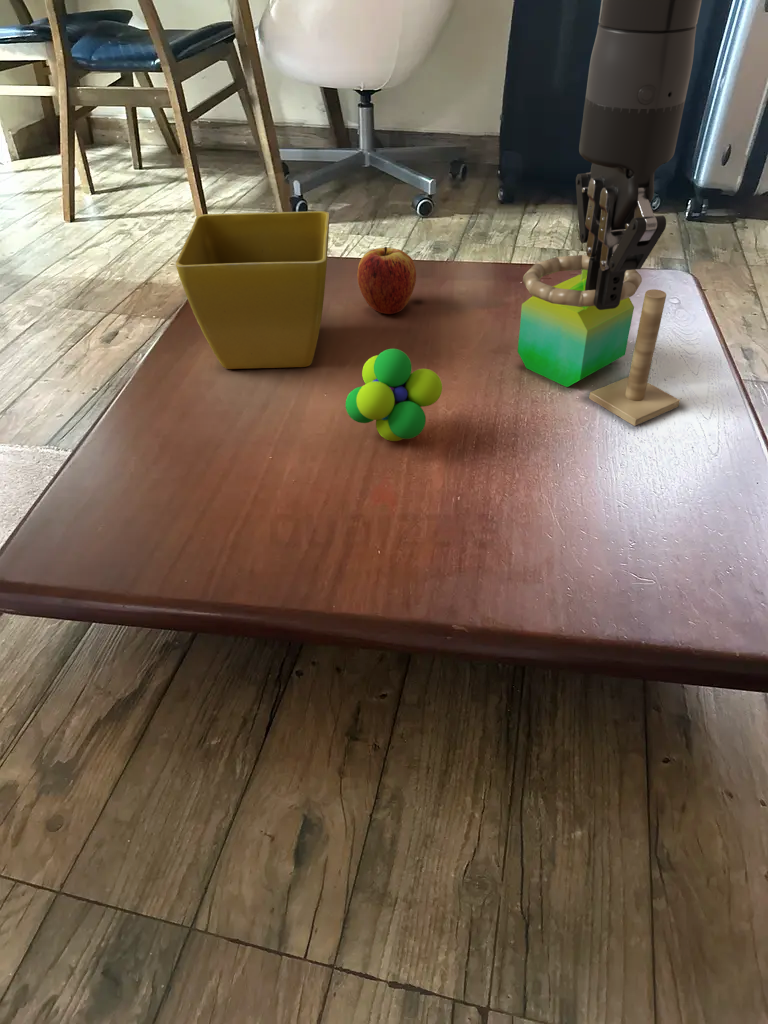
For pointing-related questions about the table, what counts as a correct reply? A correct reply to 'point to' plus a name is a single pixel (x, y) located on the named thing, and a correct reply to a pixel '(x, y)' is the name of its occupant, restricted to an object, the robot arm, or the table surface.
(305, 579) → the table surface
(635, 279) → the ring
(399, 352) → the molecule model
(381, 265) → the apple
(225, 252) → the flower pot
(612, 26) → the robot arm
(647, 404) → the post
